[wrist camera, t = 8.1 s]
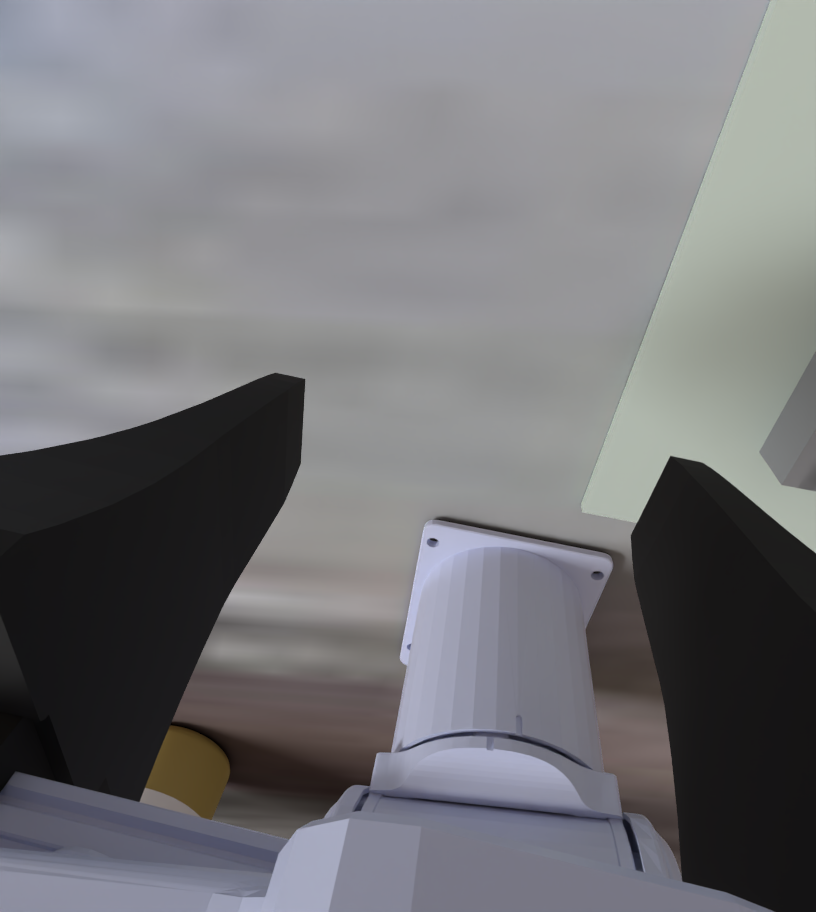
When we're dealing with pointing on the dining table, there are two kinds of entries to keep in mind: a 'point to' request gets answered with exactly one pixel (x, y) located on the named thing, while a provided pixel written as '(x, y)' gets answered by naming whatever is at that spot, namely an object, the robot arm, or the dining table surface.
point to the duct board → (737, 307)
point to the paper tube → (187, 774)
